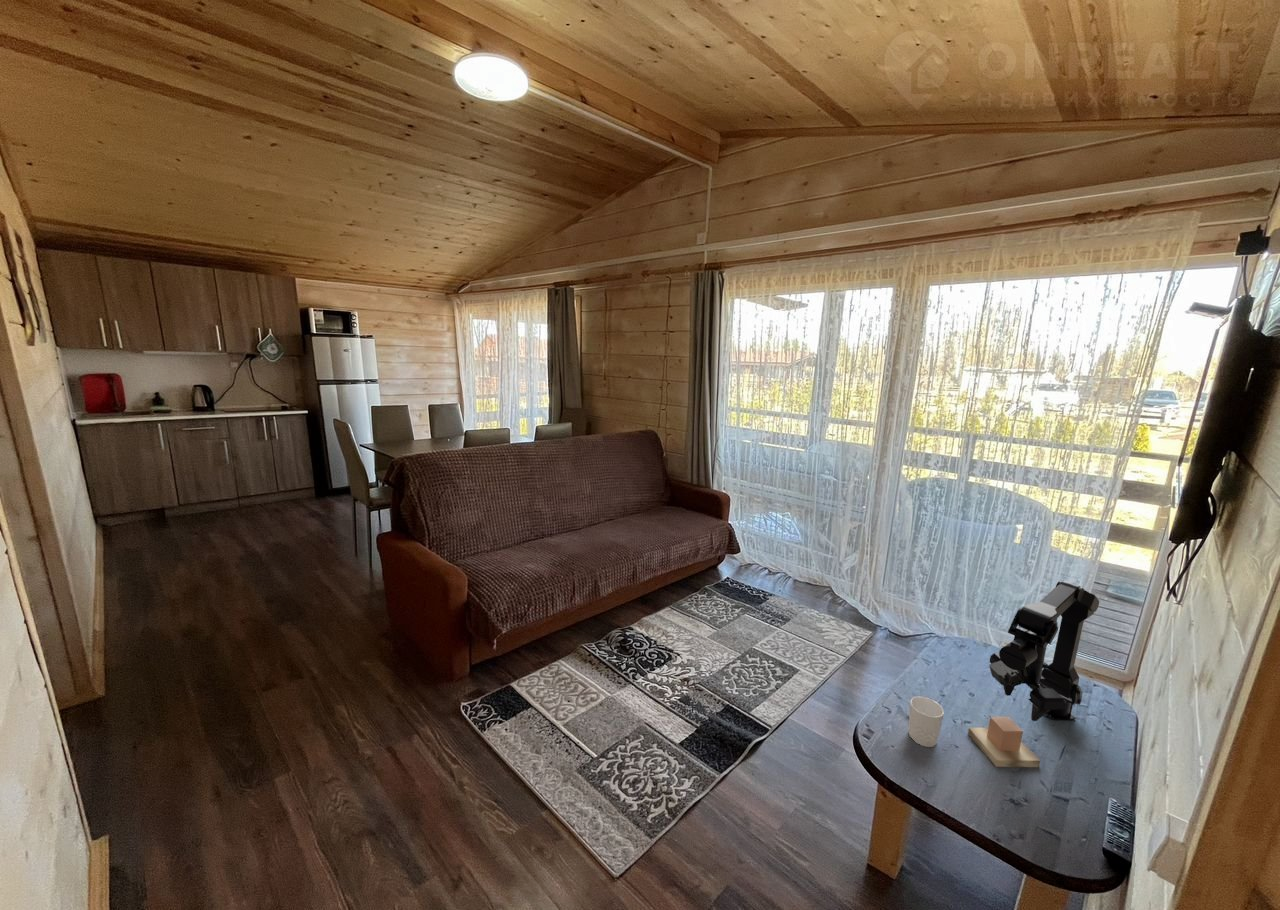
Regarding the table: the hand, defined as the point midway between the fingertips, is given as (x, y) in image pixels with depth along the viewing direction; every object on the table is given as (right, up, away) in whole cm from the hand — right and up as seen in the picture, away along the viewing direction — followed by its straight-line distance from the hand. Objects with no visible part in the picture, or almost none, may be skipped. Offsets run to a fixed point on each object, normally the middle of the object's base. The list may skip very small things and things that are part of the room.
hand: (1020, 707), depth 127 cm
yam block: (-4, -10, +2) cm, 11 cm away
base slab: (-3, -12, +2) cm, 13 cm away
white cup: (-22, -12, +6) cm, 26 cm away
